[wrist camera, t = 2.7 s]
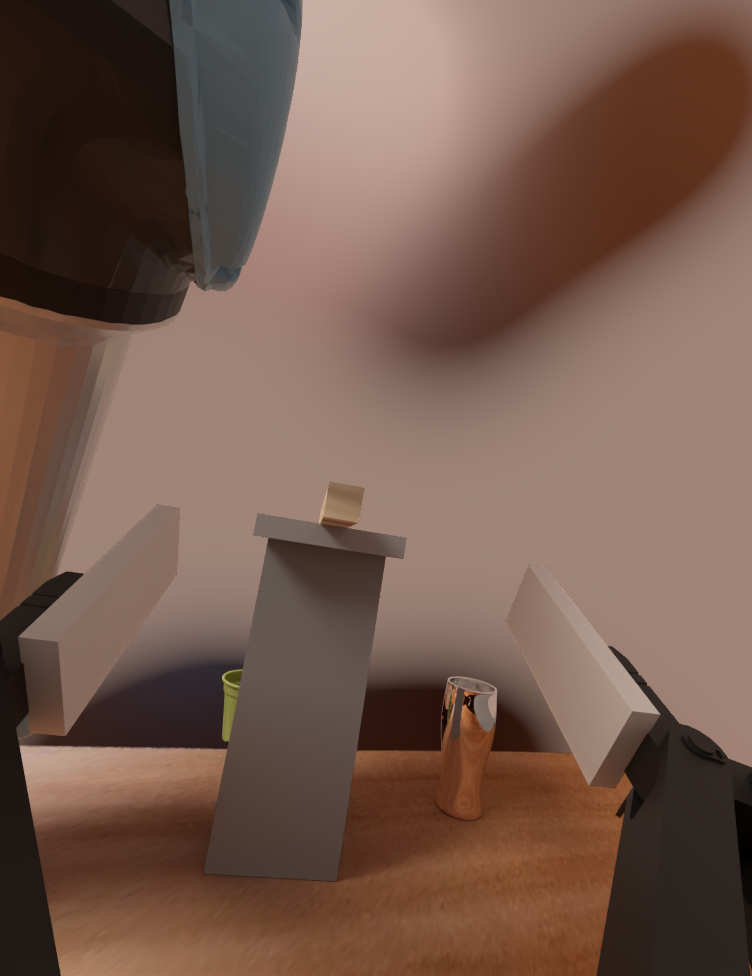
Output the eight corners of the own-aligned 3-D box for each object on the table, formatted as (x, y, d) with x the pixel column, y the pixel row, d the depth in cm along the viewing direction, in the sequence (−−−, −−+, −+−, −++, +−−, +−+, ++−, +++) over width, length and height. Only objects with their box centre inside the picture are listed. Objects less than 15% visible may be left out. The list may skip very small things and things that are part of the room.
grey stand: (351, 919, 35) (406, 537, 40) (177, 911, 34) (257, 513, 38) (339, 804, 51) (379, 539, 56) (220, 794, 49) (272, 522, 54)
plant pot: (210, 724, 66) (222, 667, 68) (270, 725, 70) (280, 670, 71) (209, 754, 58) (222, 687, 59) (278, 753, 61) (289, 690, 62)
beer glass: (453, 785, 60) (466, 674, 62) (496, 813, 54) (509, 690, 57) (420, 798, 55) (435, 677, 57) (463, 829, 50) (478, 695, 52)
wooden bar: (358, 522, 30) (364, 487, 30) (323, 516, 29) (329, 481, 30) (336, 532, 55) (339, 514, 56) (317, 529, 55) (321, 510, 55)
